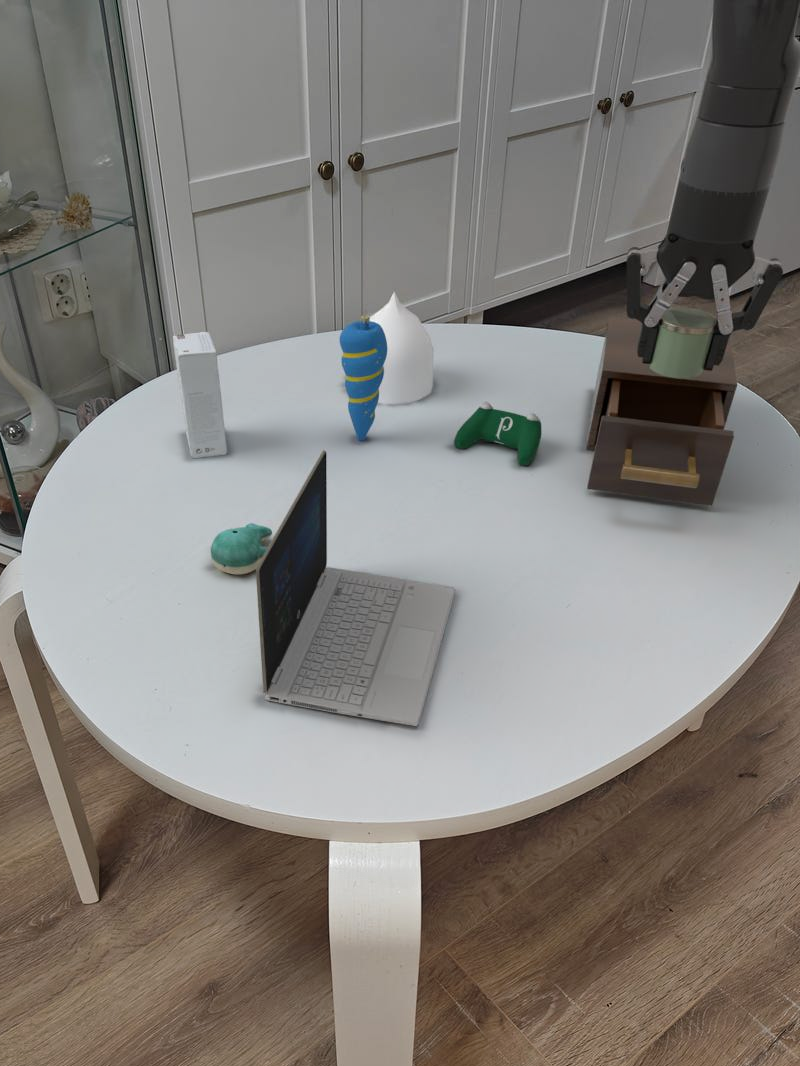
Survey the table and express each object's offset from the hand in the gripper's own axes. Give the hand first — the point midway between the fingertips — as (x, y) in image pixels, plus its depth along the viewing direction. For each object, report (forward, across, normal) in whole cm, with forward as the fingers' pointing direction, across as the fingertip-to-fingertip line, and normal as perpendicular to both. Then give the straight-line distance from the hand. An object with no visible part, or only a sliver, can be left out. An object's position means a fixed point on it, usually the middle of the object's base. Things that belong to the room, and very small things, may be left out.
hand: (676, 363), depth 90 cm
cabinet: (+13, 0, +12) cm, 18 cm away
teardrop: (+13, -32, +15) cm, 38 cm away
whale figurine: (+13, -37, -26) cm, 47 cm away
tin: (0, 0, 0) cm, 0 cm away
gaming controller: (+13, -16, +2) cm, 21 cm away
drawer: (+12, 0, -1) cm, 12 cm away
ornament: (+13, -32, 0) cm, 35 cm away
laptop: (+13, -23, -35) cm, 44 cm away
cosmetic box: (+13, -49, -6) cm, 51 cm away
